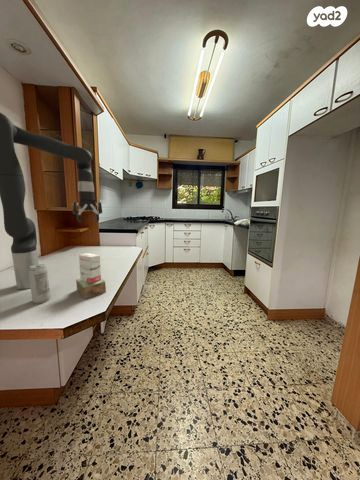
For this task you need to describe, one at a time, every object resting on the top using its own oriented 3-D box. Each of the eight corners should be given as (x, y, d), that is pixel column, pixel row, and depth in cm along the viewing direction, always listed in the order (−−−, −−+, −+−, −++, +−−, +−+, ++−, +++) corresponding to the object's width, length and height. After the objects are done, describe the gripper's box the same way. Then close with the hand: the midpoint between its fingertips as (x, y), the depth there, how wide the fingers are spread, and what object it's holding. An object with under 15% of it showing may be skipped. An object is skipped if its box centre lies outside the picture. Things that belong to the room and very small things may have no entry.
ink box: (102, 279, 86) (100, 254, 84) (92, 283, 82) (90, 257, 79) (89, 276, 90) (87, 252, 88) (80, 279, 86) (77, 254, 83)
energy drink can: (46, 295, 82) (42, 262, 79) (53, 299, 79) (49, 265, 76) (29, 301, 77) (24, 266, 74) (37, 305, 74) (31, 269, 71)
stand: (85, 298, 79) (84, 287, 78) (77, 290, 87) (76, 279, 86) (106, 292, 85) (105, 281, 84) (96, 284, 93) (96, 274, 92)
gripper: (73, 189, 91) (76, 223, 94) (102, 191, 101) (104, 221, 103) (69, 190, 96) (72, 222, 99) (97, 192, 106) (99, 220, 109)
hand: (88, 221), depth 101 cm, fingers open, 8 cm apart
